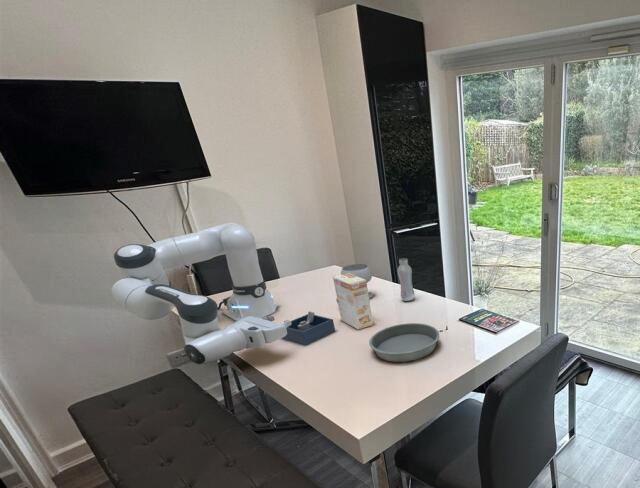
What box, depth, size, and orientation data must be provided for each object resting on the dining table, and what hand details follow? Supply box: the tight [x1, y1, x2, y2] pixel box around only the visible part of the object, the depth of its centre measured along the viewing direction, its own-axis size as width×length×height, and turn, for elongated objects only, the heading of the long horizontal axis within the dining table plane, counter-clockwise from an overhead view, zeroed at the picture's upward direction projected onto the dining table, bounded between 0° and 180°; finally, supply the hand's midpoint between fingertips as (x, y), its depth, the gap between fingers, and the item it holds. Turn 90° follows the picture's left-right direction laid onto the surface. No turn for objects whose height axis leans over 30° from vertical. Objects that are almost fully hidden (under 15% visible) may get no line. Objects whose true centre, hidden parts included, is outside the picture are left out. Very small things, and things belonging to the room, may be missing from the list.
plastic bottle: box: [396, 257, 416, 302], centre depth 190 cm, size 6×7×20 cm
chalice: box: [340, 263, 374, 299], centre depth 195 cm, size 14×14×15 cm
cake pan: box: [368, 322, 440, 363], centre depth 148 cm, size 25×25×4 cm
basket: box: [282, 313, 336, 346], centre depth 159 cm, size 14×14×5 cm
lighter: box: [298, 311, 315, 331], centre depth 158 cm, size 7×2×8 cm, turn 153°
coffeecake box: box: [332, 273, 374, 330], centre depth 166 cm, size 15×7×20 cm, turn 47°
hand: (281, 319), depth 148 cm, fingers open, 8 cm apart
